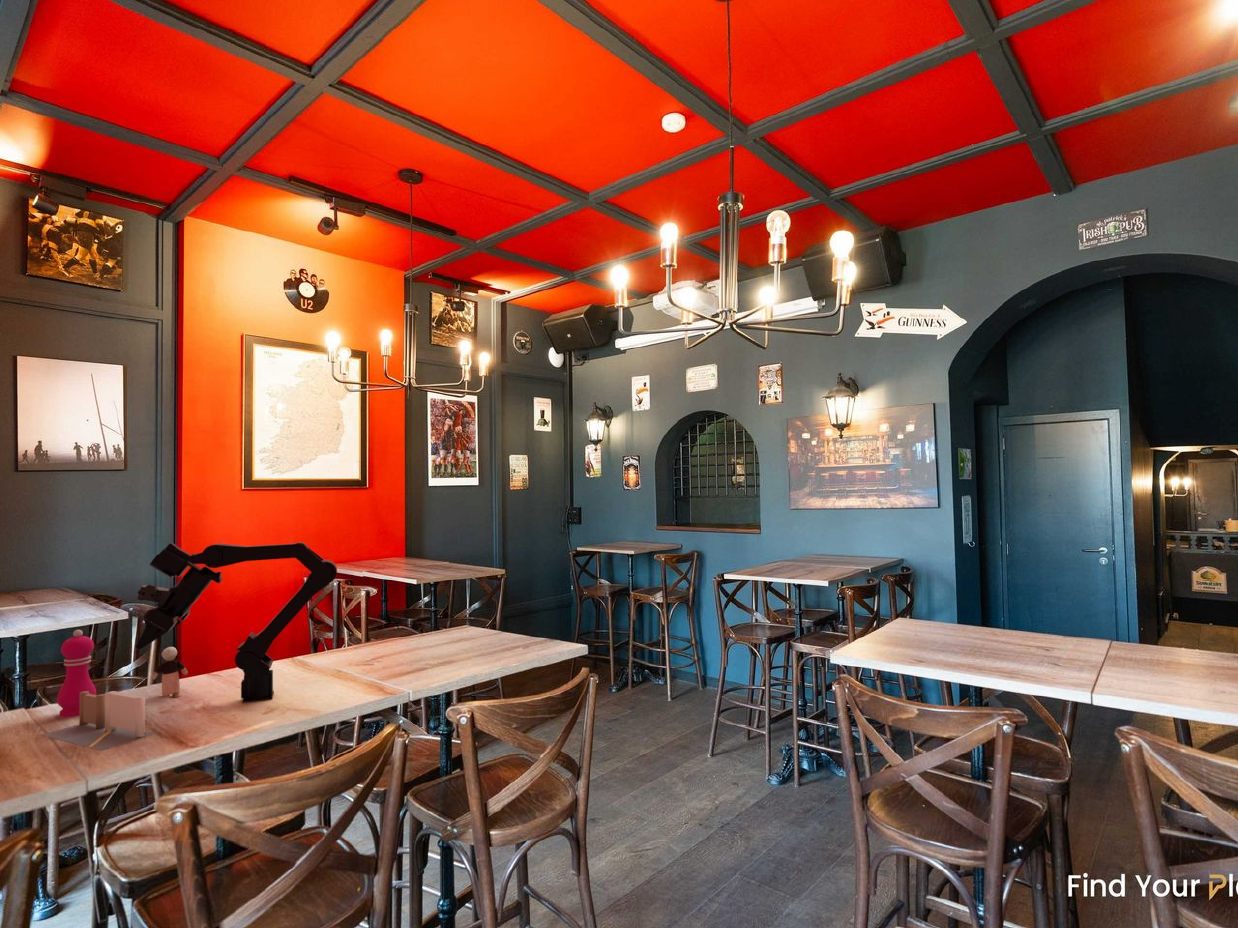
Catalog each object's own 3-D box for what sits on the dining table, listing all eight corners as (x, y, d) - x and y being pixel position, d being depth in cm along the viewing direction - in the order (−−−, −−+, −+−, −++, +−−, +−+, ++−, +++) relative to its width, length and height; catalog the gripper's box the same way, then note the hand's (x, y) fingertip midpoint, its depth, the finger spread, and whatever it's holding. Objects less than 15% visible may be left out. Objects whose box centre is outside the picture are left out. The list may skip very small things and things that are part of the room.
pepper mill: (91, 709, 162) (92, 625, 163) (100, 714, 157) (101, 628, 158) (53, 717, 156) (54, 630, 157) (60, 723, 152) (62, 634, 153)
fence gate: (102, 730, 143) (103, 693, 144) (113, 727, 145) (113, 690, 145) (137, 738, 138) (137, 699, 138) (147, 734, 139) (147, 696, 140)
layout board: (39, 738, 142) (39, 701, 142) (94, 723, 151) (94, 688, 151) (100, 754, 132) (100, 714, 132) (155, 737, 141) (155, 699, 141)
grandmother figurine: (181, 692, 175) (181, 643, 175) (189, 694, 173) (189, 644, 173) (148, 700, 168) (148, 649, 169) (156, 702, 166) (156, 650, 167)
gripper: (167, 567, 170) (122, 620, 166) (147, 574, 153) (96, 633, 149) (208, 590, 173) (165, 643, 169) (193, 600, 156) (144, 659, 152)
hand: (143, 644), depth 159 cm, fingers open, 9 cm apart
